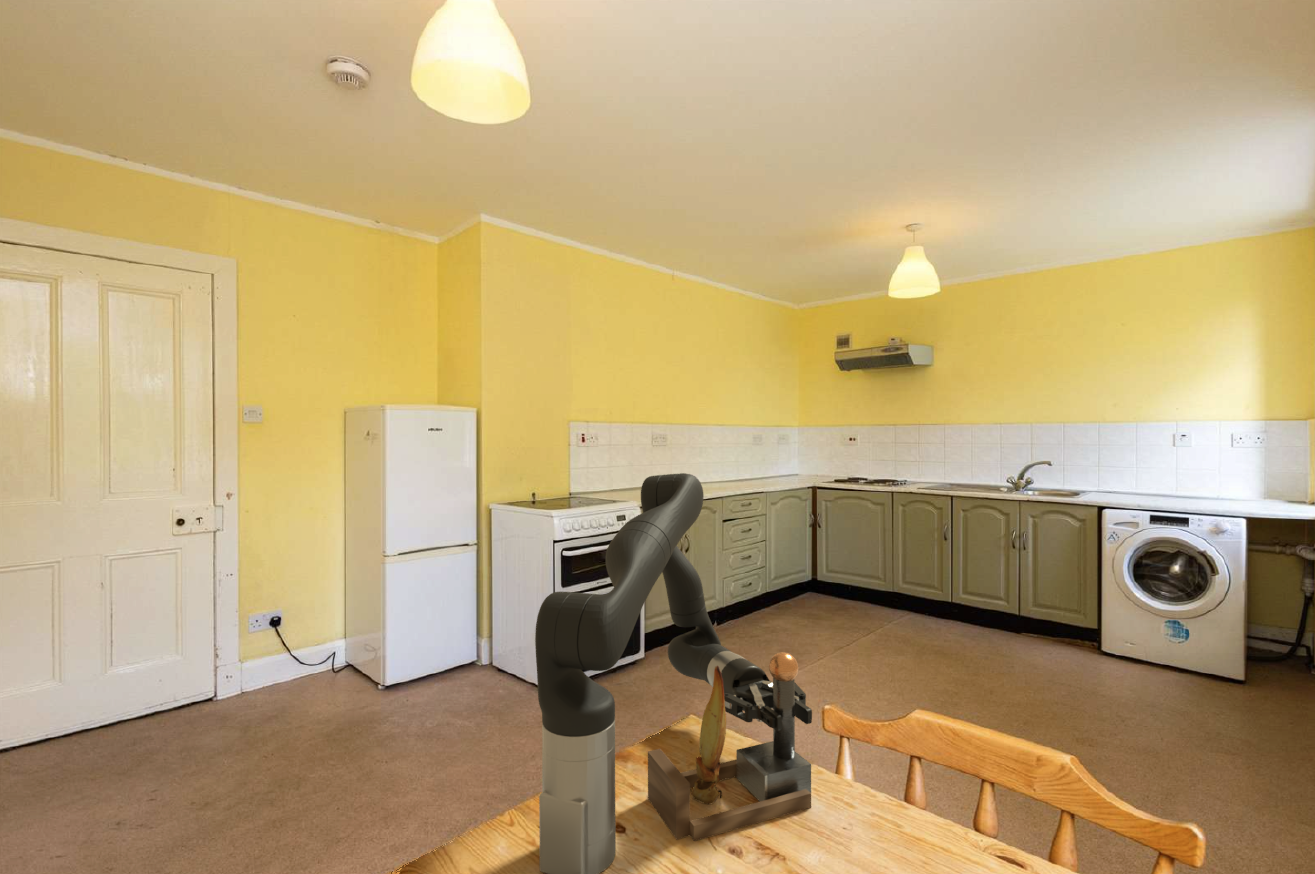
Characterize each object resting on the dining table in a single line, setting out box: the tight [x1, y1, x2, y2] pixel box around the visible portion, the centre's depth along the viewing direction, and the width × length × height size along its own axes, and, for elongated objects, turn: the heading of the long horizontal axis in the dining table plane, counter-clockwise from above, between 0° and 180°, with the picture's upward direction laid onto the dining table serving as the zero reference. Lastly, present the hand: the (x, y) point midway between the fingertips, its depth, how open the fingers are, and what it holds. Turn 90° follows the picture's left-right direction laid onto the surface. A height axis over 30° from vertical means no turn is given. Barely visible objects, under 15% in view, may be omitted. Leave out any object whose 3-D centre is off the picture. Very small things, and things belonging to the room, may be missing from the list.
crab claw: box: [690, 666, 727, 805], centre depth 89 cm, size 7×5×20 cm
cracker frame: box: [647, 748, 812, 842], centre depth 90 cm, size 21×12×7 cm, turn 113°
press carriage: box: [735, 651, 812, 802], centre depth 94 cm, size 8×8×20 cm
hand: (794, 720), depth 92 cm, fingers open, 4 cm apart
